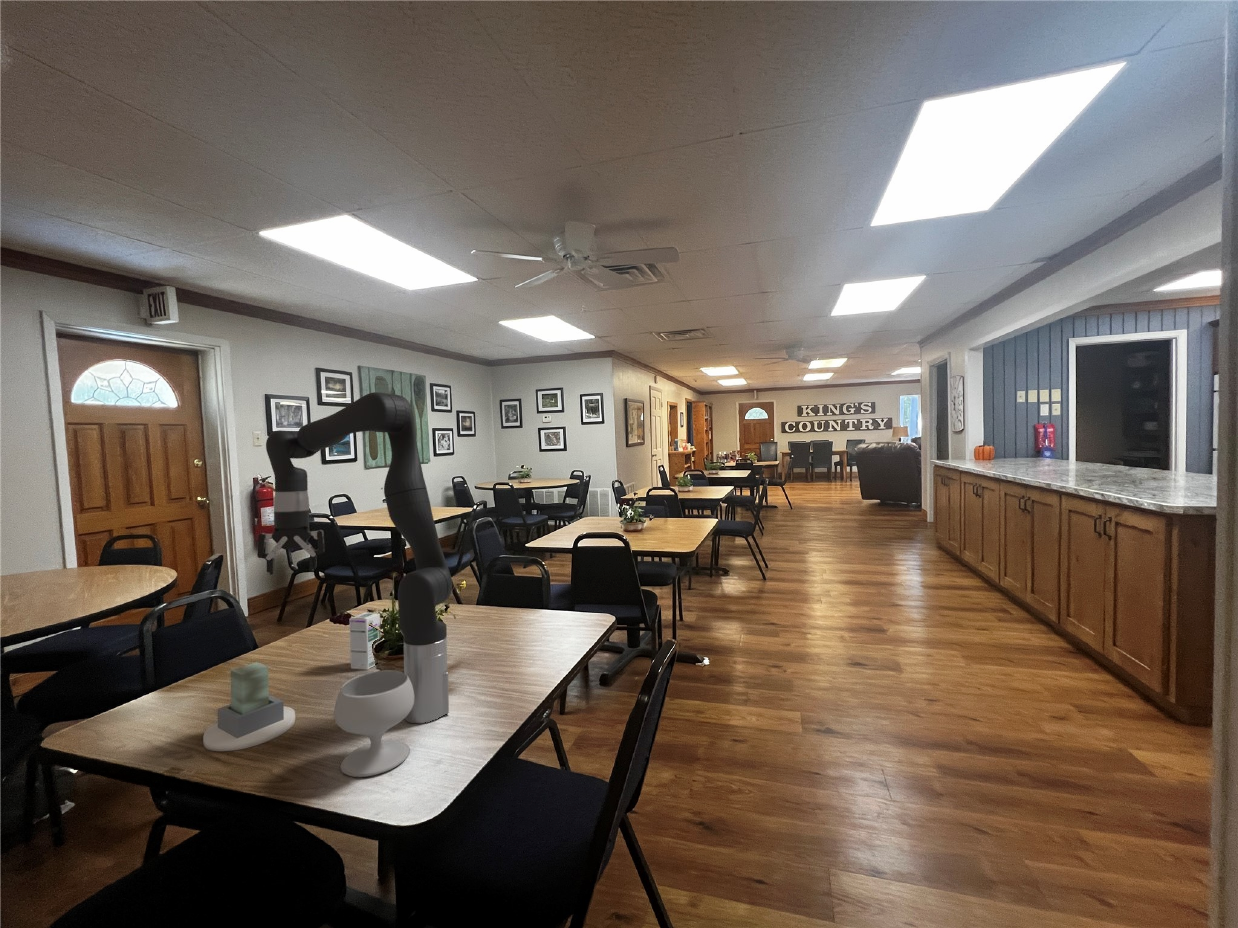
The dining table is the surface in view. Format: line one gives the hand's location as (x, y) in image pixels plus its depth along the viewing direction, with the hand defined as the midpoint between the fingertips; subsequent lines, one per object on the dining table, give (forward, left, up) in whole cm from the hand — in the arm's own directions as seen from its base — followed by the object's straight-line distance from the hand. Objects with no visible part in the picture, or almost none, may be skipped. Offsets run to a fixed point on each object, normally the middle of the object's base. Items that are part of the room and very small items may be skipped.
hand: (292, 572), depth 128 cm
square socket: (+5, +19, -30) cm, 36 cm away
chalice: (-20, +43, -30) cm, 56 cm away
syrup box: (-16, -10, -30) cm, 36 cm away
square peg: (+5, +19, -29) cm, 35 cm away
